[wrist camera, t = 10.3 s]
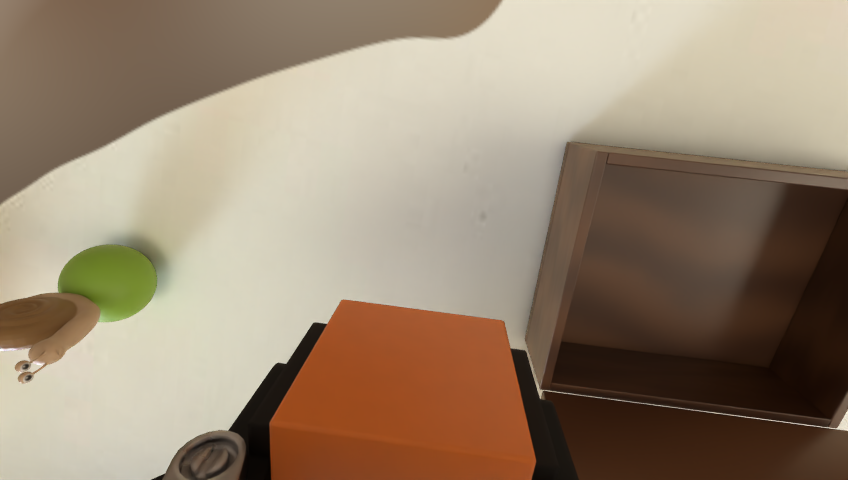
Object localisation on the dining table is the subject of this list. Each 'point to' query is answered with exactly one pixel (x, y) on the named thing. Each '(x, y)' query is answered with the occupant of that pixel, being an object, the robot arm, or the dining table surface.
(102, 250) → the snail figurine
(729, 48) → the dining table surface
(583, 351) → the chest
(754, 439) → the lid
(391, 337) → the block
